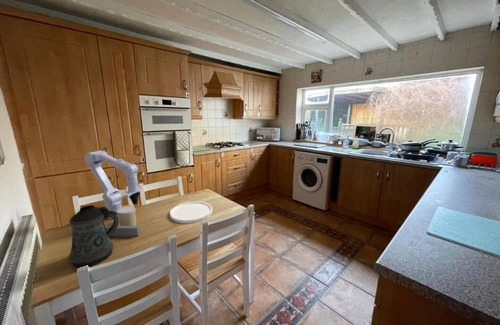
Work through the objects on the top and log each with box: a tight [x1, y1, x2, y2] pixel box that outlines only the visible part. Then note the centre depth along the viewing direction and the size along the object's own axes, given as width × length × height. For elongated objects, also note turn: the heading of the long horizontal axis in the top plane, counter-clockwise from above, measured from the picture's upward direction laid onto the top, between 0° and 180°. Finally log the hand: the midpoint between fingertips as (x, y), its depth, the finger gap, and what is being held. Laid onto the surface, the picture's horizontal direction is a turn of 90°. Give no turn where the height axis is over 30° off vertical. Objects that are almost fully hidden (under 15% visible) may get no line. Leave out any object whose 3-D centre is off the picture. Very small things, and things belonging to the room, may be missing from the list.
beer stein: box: [68, 204, 120, 269], centre depth 95 cm, size 16×19×25 cm
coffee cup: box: [117, 205, 137, 226], centre depth 119 cm, size 9×9×12 cm
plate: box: [169, 200, 213, 224], centre depth 140 cm, size 28×28×2 cm
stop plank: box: [105, 225, 141, 237], centre depth 113 cm, size 20×2×5 cm, turn 90°
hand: (135, 204), depth 128 cm, fingers closed
